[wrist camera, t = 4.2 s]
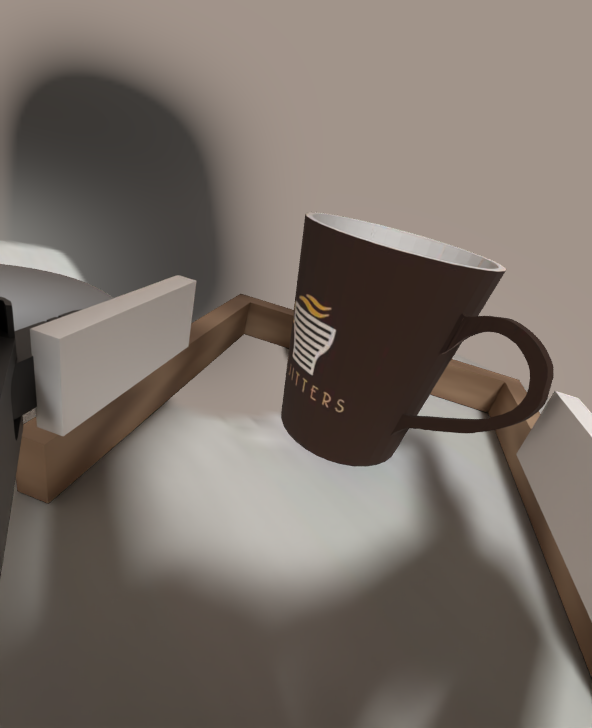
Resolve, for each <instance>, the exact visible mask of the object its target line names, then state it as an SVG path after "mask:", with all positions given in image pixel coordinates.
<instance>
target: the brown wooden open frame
mask: <svg viewBox="0 0 592 728" xmlns="http://www.w3.org/2000/svg"><path fill="white" fill-rule="evenodd" d="M293 314H294V310H292V309H288V308H285V307H282V306H279V305H275V304H272V303H269V302H266V301H263V300H259V299H256V298H253V297H250V296H246V295H243V294H240V295H238V296H236V297H235V298H233V299H231V300H230V301H228V302H226V303H224V304H223V305H221V306H220V307H218V308H216V309H215V310H213V311H211V312H210V313H208V314H206V315H205V316H203V317H201V318H200V319H198V320H196V321H195V322H193V323H191V329H190V337H189V346H188V347H187V348H186V349H184V350H183V351H181V352H180V353H179V354H177V355H176V356H174V357H173V358H172V359H170V360H169V361H168V362H166V363H165V364H163V365H162V366H161V367H159V368H158V369H156V370H155V371H154V372H152V373H151V374H149V375H148V376H147V377H145V378H144V379H142V380H141V381H140V382H138V383H137V384H136V385H134V386H133V387H131V388H130V389H129V390H127V391H126V392H124V393H123V394H122V395H120V396H119V397H117V398H116V399H115V400H113V401H112V402H110V403H109V404H108V405H106V406H105V407H104V408H102V409H101V410H99V411H98V412H97V413H95V414H94V415H92V416H91V417H90V418H88V419H87V420H85V421H84V422H83V423H81V424H80V425H78V426H77V427H76V428H74V429H73V430H72V431H70V432H69V433H67V434H66V435H65V436H60V435H58V434H55V433H52V432H50V431H47V430H44V429H42V428H39V427H37V421H36V417H35V418H33V419H31V420H30V421H28V422H26V423H25V424H23V433H22V439H21V446H20V452H19V459H18V465H17V472H16V483H17V491H18V492H21V493H23V494H26V495H28V496H31V497H33V498H35V499H38V500H40V501H43V502H45V503H48V504H49V503H50V502H51V501H52V500H53V499H54V498H55V497H57V496H58V495H59V494H60V493H61V492H62V491H64V490H65V489H66V488H67V487H68V486H69V485H70V484H72V483H73V482H74V481H75V480H76V479H77V478H79V477H80V476H81V475H82V474H83V473H84V472H85V471H87V470H88V469H89V468H90V467H91V466H92V465H94V464H95V463H96V462H97V461H98V460H99V459H100V458H102V457H103V456H104V455H105V454H106V453H107V452H109V451H110V450H111V449H112V448H113V447H114V446H115V445H117V444H118V443H119V442H120V441H121V440H122V439H124V438H125V437H126V436H127V435H128V434H129V433H130V432H132V431H133V430H134V429H135V428H136V427H137V426H139V425H140V424H141V423H142V422H143V421H144V420H145V419H147V418H148V417H149V416H150V415H151V414H152V413H154V412H155V411H156V410H157V409H158V408H159V407H160V406H162V405H163V404H164V403H165V402H166V401H167V400H169V399H170V398H171V397H172V396H173V395H174V394H175V393H177V392H178V391H179V390H180V389H181V388H182V387H184V386H185V385H186V384H187V383H188V382H189V381H190V380H192V379H193V378H194V377H195V376H196V375H197V374H198V373H200V372H201V371H202V370H203V369H204V368H205V367H207V366H208V365H209V364H210V363H211V362H212V361H214V360H215V359H216V358H217V357H218V356H219V355H221V354H222V353H223V352H224V351H225V350H226V349H227V348H229V347H230V346H231V345H232V344H233V343H234V342H236V341H237V340H238V339H239V338H240V337H241V336H242V335H243V334H246V335H249V336H252V337H255V338H258V339H261V340H265V341H268V342H270V343H274V344H277V345H280V346H283V347H286V348H289V347H290V338H291V330H292V322H293ZM430 394H431V395H434V396H437V397H440V398H444V399H447V400H450V401H453V402H456V403H459V404H462V405H465V406H468V407H471V408H474V409H478V410H481V411H484V412H487V413H488V414H489V416H490V418H491V417H494V416H498V415H502V414H505V413H507V412H509V411H512V410H513V409H514V408H516V407H517V406H518V405H519V404H520V403H521V402H522V400H523V399H524V398H525V396H526V394H527V392H526V390H525V389H524V387H523V386H522V384H521V383H520V381H519V380H517V379H514V378H511V377H508V376H505V375H501V374H498V373H495V372H492V371H489V370H485V369H482V368H479V367H476V366H472V365H469V364H466V363H463V362H459V361H456V360H453V359H451V361H450V362H449V364H448V366H447V367H446V369H445V370H444V372H443V374H442V375H441V377H440V379H439V380H438V382H437V383H436V385H435V387H434V388H433V390H432V392H431V393H430ZM539 416H540V413H539V411H538V412H537V413H536V414H534V415H533V416H532V417H530V418H529V419H527V420H525V421H523V422H520V423H518V424H515V425H512V426H508V427H505V428H501V429H497V430H495V431H496V434H497V437H498V439H499V442H500V444H501V447H502V449H503V452H504V455H505V457H506V460H507V462H508V465H509V467H510V470H511V472H512V475H513V478H514V480H515V483H516V485H517V488H518V490H519V493H520V495H521V498H522V501H523V503H524V506H525V508H526V511H527V513H528V516H529V519H530V521H531V524H532V526H533V529H534V531H535V534H536V536H537V539H538V542H539V544H540V547H541V549H542V552H543V554H544V557H545V559H546V562H547V565H548V567H549V570H550V572H551V575H552V577H553V580H554V583H555V585H556V588H557V590H558V593H559V595H560V598H561V600H562V603H563V606H564V608H565V611H566V613H567V616H568V618H569V621H570V623H571V626H572V629H573V631H574V634H575V636H576V639H577V641H578V644H579V647H580V649H581V652H582V654H583V657H584V659H585V662H586V664H587V667H588V670H589V672H590V675H591V677H592V622H591V619H590V617H589V615H588V613H587V610H586V608H585V606H584V604H583V602H582V599H581V597H580V595H579V593H578V590H577V588H576V586H575V584H574V582H573V579H572V577H571V575H570V573H569V570H568V568H567V566H566V564H565V562H564V559H563V557H562V555H561V553H560V550H559V548H558V546H557V544H556V542H555V539H554V537H553V535H552V533H551V530H550V528H549V526H548V524H547V522H546V519H545V517H544V515H543V513H542V510H541V508H540V506H539V504H538V502H537V499H536V497H535V495H534V493H533V490H532V488H531V486H530V484H529V482H528V479H527V477H526V475H525V473H524V470H523V468H522V466H521V464H520V462H519V459H518V457H517V455H516V454H517V452H518V450H519V449H520V447H521V446H522V444H523V442H524V441H525V439H526V437H527V436H528V434H529V432H530V431H531V429H532V428H533V426H534V424H535V423H536V421H537V419H538V418H539Z"/></svg>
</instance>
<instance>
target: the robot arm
mask: <svg viewBox="0 0 592 728" xmlns="http://www.w3.org/2000/svg"><path fill="white" fill-rule="evenodd" d="M195 288H196V281H195V280H192V279H188V278H185V277H182V276H179V275H177V276H174V277H171V278H169V279H166V280H163V281H160V282H157V283H155V284H152V285H149V286H147V287H144V288H141V289H138V290H135V291H133V292H130V293H127V294H124V295H122V296H119V297H116V298H113V299H111V300H108V301H105V302H102V303H100V304H97V305H94V306H91V307H89V308H86V309H81V310H73V311H70V312H67V313H64V314H62V315H59V316H58V317H53V318H50V319H47V321H42V322H39V323H36V324H33V325H31V326H28V327H25V328H22V329H19V330H16V331H14V320H13V309H12V303H11V301H9V300H8V299H6V298H4V297H0V577H1V570H2V564H3V557H4V551H5V544H6V537H7V531H8V524H9V518H10V511H11V505H12V498H13V492H14V485H15V478H16V472H17V465H18V459H19V452H20V446H21V439H22V433H23V417H22V415H23V414H25V413H27V412H29V411H30V410H32V409H34V408H35V407H36V421H37V427H39V428H42V429H44V430H47V431H50V432H52V433H55V434H58V435H60V436H65V435H66V434H67V433H69V432H70V431H72V430H73V429H74V428H76V427H77V426H78V425H80V424H81V423H83V422H84V421H85V420H87V419H88V418H90V417H91V416H92V415H94V414H95V413H97V412H98V411H99V410H101V409H102V408H104V407H105V406H106V405H108V404H109V403H110V402H112V401H113V400H115V399H116V398H117V397H119V396H120V395H122V394H123V393H124V392H126V391H127V390H129V389H130V388H131V387H133V386H134V385H136V384H137V383H138V382H140V381H141V380H142V379H144V378H145V377H147V376H148V375H149V374H151V373H152V372H154V371H155V370H156V369H158V368H159V367H161V366H162V365H163V364H165V363H166V362H168V361H169V360H170V359H172V358H173V357H174V356H176V355H177V354H179V353H180V352H181V351H183V350H184V349H186V348H187V347H188V346H189V337H190V329H191V321H192V312H193V305H194V296H195ZM516 455H517V457H518V459H519V462H520V464H521V466H522V468H523V470H524V473H525V475H526V477H527V479H528V482H529V484H530V486H531V488H532V490H533V493H534V495H535V497H536V499H537V502H538V504H539V506H540V508H541V510H542V513H543V515H544V517H545V519H546V522H547V524H548V526H549V528H550V530H551V533H552V535H553V537H554V539H555V542H556V544H557V546H558V548H559V550H560V553H561V555H562V557H563V559H564V562H565V564H566V566H567V568H568V570H569V573H570V575H571V577H572V579H573V582H574V584H575V586H576V588H577V590H578V593H579V595H580V597H581V599H582V602H583V604H584V606H585V608H586V610H587V613H588V615H589V617H590V619H591V622H592V413H591V412H590V410H589V409H588V408H587V407H586V406H585V405H584V404H583V403H582V401H581V400H580V399H579V398H577V397H574V396H570V395H567V394H564V393H561V392H557V391H555V392H554V393H553V395H552V396H551V398H550V400H549V401H548V403H547V405H546V406H545V408H544V410H543V411H542V413H541V414H540V416H539V418H538V419H537V421H536V423H535V424H534V426H533V428H532V429H531V431H530V432H529V434H528V436H527V437H526V439H525V441H524V442H523V444H522V446H521V447H520V449H519V450H518V452H517V454H516Z"/></svg>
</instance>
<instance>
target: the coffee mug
mask: <svg viewBox="0 0 592 728" xmlns="http://www.w3.org/2000/svg"><path fill="white" fill-rule="evenodd" d="M505 271H506V268H505V267H503V266H502V265H500V264H498V263H496V262H494V261H492V260H490V259H488V258H485V257H482V256H480V255H478V254H475V253H472V252H469V251H466V250H464V249H460V248H458V247H455V246H452V245H449V244H445V243H442V242H439V241H436V240H433V239H430V238H426V237H423V236H419V235H415V234H412V233H409V232H405V231H402V230H398V229H394V228H390V227H386V226H382V225H378V224H374V223H370V222H366V221H362V220H357V219H352V218H347V217H343V216H337V215H331V214H325V213H314V212H312V213H306V214H305V223H304V232H303V239H302V248H301V256H300V264H299V272H298V281H297V289H296V297H295V305H294V314H293V322H292V330H291V338H290V347H289V355H288V363H287V372H286V380H285V388H284V397H283V405H282V421H283V424H284V427H285V428H286V430H287V432H288V433H289V434H290V435H291V437H292V438H293V439H294V440H295V441H296V442H297V443H299V444H300V445H301V446H303V447H304V448H305V449H307V450H308V451H310V452H312V453H314V454H315V455H317V456H320V457H322V458H324V459H327V460H329V461H332V462H336V463H339V464H344V465H350V466H372V465H377V464H380V463H382V462H385V461H386V460H388V459H389V458H390V457H391V456H392V455H393V453H394V452H395V450H396V449H397V447H398V445H399V444H400V442H401V441H402V439H403V437H404V436H405V434H406V432H407V431H408V429H409V428H413V429H423V430H432V431H443V432H455V433H475V432H483V431H490V430H497V429H501V428H505V427H508V426H512V425H515V424H518V423H520V422H523V421H525V420H527V419H529V418H530V417H532V416H533V415H534V414H536V413H537V412H538V411H539V410H540V409H541V408H542V407H543V405H544V404H545V402H546V400H547V397H548V394H549V390H550V387H551V383H552V380H553V364H552V361H551V359H550V357H549V354H548V352H547V350H546V348H545V347H544V345H543V344H542V343H541V341H540V340H539V339H538V338H537V337H536V336H535V335H534V334H533V333H532V332H531V331H530V330H528V329H527V328H526V327H524V326H523V325H522V324H520V323H518V322H516V321H514V320H512V319H508V318H501V317H493V316H478V315H479V313H480V312H481V310H482V309H483V307H484V305H485V304H486V302H487V300H488V299H489V297H490V295H491V294H492V292H493V291H494V289H495V287H496V286H497V284H498V282H499V281H500V279H501V278H502V276H503V274H504V273H505ZM482 332H496V333H500V334H502V335H504V336H506V337H508V338H509V339H510V340H512V341H513V342H514V343H516V344H517V346H518V347H519V348H520V350H521V351H522V353H523V354H524V356H525V358H526V360H527V362H528V365H529V369H530V383H529V389H528V392H527V394H526V396H525V398H524V399H523V400H522V402H521V403H520V404H519V405H518V406H517V407H516V408H514V409H513V410H512V411H509V412H507V413H505V414H502V415H498V416H494V417H491V418H487V419H457V418H441V417H430V416H417V414H418V413H419V411H420V410H421V408H422V406H423V405H424V403H425V401H426V400H427V398H428V397H429V395H430V393H431V392H432V390H433V388H434V387H435V385H436V383H437V382H438V380H439V379H440V377H441V375H442V374H443V372H444V370H445V369H446V367H447V366H448V364H449V362H450V361H451V359H452V357H453V356H454V354H455V353H456V351H457V349H458V348H459V346H460V344H461V343H462V341H464V340H465V339H467V338H468V337H470V336H473V335H475V334H478V333H482Z"/></svg>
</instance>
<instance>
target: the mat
mask: <svg viewBox="0 0 592 728" xmlns="http://www.w3.org/2000/svg"><path fill="white" fill-rule="evenodd" d="M0 297H4V298H6V299H8V300H9V301H11V303H12V309H13V320H14V331H16V330H19V329H22V328H25V327H28V326H31V325H33V324H36V323H39V322H42V321H47V319H50V318H53V317H58V316H59V315H62V314H64V313H67V312H70V311H73V310H81V309H86V308H89V307H91V306H94V305H97V304H100V303H102V302H105V301H108V300H111V299H113V297H111V296H110V295H109V294H107V293H106V292H104V291H102V290H100V289H99V288H97V287H95V286H92V285H90V284H88V283H85V282H82V281H80V280H77V279H74V278H71V277H67V276H64V275H60V274H56V273H52V272H47V271H42V270H37V269H32V268H26V267H19V266H12V265H4V264H0Z"/></svg>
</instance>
